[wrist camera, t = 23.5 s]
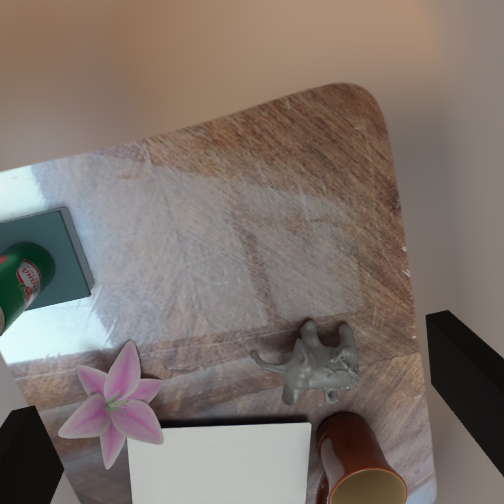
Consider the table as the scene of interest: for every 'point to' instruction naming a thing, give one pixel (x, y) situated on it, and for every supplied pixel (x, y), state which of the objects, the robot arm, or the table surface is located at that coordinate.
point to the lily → (116, 406)
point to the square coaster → (52, 253)
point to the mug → (355, 465)
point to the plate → (222, 465)
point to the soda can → (21, 280)
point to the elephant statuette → (317, 365)
